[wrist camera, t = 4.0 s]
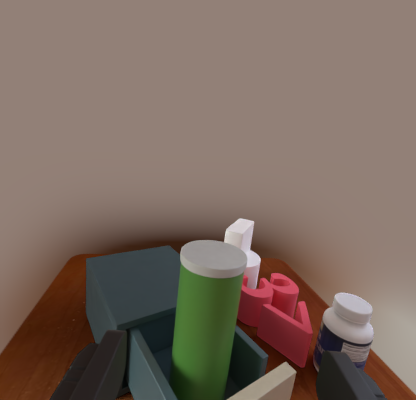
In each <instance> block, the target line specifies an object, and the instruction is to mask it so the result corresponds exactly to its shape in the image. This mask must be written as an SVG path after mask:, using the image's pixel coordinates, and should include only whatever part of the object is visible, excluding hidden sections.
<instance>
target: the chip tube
mask: <svg viewBox="0 0 416 400" xmlns="http://www.w3.org/2000/svg"><path fill="white" fill-rule="evenodd" d="M180 261H181V266H180V277H179V287H178V297H177V307H176V317H175V327H174V338H173V348H172V358H171V368H170V378H169V385H170V387H171V389H172V390H173V392H174V394H175V396H176V398H177V400H224V396H225V389H226V383H227V377H228V371H229V364H230V358H231V352H232V346H233V339H234V333H235V327H236V320H237V314H238V308H239V302H240V295H241V289H242V283H243V276H244V271H245V269H246V265H247V256H246V254H245V253H244V252H243V251H242V250H241V249H239V248H238V247H236V246H234V245H231V244H228V243H225V242H220V241H213V240H198V241H193V242H190V243H187V244H185V245H184V246H183V247H182V249H181V254H180Z"/></svg>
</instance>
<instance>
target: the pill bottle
mask: <svg viewBox="0 0 416 400" xmlns="http://www.w3.org/2000/svg"><path fill="white" fill-rule="evenodd" d="M372 312H373V310H372V306H371V305H370V304H369V303H368V302H367V301H365V300H364V299H362V298H360V297H358V296H355V295H353V294H349V293H337V294H336V295H335V297H334V300H333V305H332V307H330V308H328V309H327V310H326V311H325V312H324V314H323V318H322V322H321V326H320V330H319V334H318V338H317V342H316V346H315V350H314V355H313V363H314V366H315V368H316V370H317V371H318V372H319V368H320V363H321V359H322V355H323V353H324V351H337V352H345V353H346V354H347V355H348V356H349V357H350V359H351V360H352V362H353V363H354V365H355V366H356V368H360V369H362V370H364V366H365V363H366V360H367V357H368V353H369V350H370V346H371V343H372V340H373V335H374V331H373V328H372V326H371V324H370V323H369V321H370V319H371V315H372Z"/></svg>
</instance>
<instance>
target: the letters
mask: <svg viewBox="0 0 416 400" xmlns="http://www.w3.org/2000/svg"><path fill="white" fill-rule="evenodd" d="M247 282H248V277H247V276H246V275H244V276H243V283H242V289H241V295H240V302H239V308H238V314H237V318H238V319H239V320H240V321H241V322H242V323H244V324H246V325H249V326H252V327H258V330H257V336H258V337H259V338H261V339H262V340H263V341H265V342H266V343H268V344H269V345H270V346H272V347H273V348H274V349H276V350H277V351H279V352H280V353H281V354H283V355H284V356H285V357H287V358H288V359H290V360H291V361H292V362H294V363H295V364H296V365H298V366H299V367H301V368H303V367H305V364H306V360H307V356H308V352H309V348H310V344H311V339H312V335H313V331H312V328H311V324H310V320H309V316H308V312H307V308H306V304H305V301H302V302H298V306H297V311H296V315H295V320H294V319H293V316H294V311H295V306H296V302H297V297H298V293H299V288H298V286H297V285H296V284H295V283H294V282H293V281H292V280H291V279H289V278H288V277H286V276H284V275H282V274H279V273H272V274H271V280H270V283H269V282H268V281H267V280H266V279H265V278H261V279H260V284H259V289H250V288H247Z"/></svg>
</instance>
